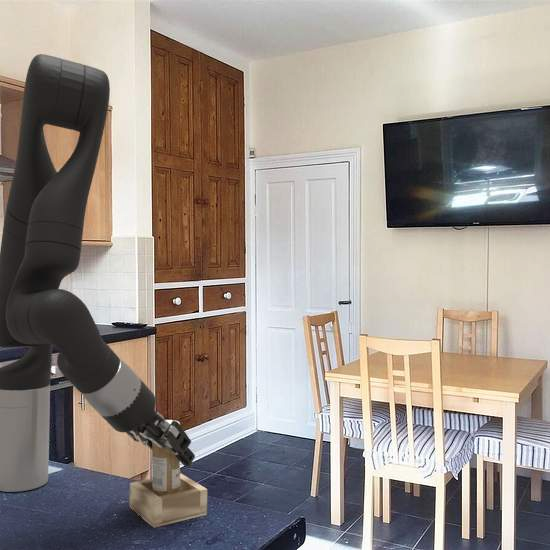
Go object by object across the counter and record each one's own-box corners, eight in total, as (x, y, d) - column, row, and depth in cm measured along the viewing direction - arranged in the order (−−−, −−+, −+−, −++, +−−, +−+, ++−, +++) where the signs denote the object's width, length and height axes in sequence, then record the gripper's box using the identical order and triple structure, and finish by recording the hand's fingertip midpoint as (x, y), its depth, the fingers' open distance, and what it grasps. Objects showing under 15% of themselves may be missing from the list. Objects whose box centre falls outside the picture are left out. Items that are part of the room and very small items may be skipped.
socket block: (129, 507, 99) (130, 483, 99) (179, 496, 104) (180, 473, 104) (153, 527, 91) (154, 500, 91) (206, 514, 97) (207, 489, 97)
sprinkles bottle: (186, 508, 97) (184, 423, 97) (158, 515, 94) (157, 427, 94) (174, 499, 101) (172, 417, 101) (147, 505, 98) (146, 421, 98)
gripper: (164, 379, 87) (221, 446, 97) (104, 367, 96) (161, 429, 106) (133, 423, 83) (196, 489, 93) (73, 406, 92) (135, 467, 102)
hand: (177, 457), depth 99 cm, fingers open, 5 cm apart
